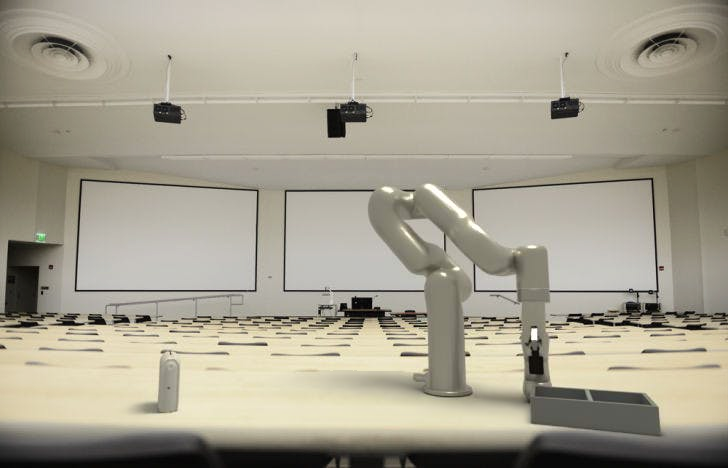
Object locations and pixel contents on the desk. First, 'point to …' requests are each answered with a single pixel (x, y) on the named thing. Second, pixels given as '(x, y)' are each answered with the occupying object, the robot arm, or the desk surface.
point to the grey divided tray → (595, 409)
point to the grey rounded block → (169, 382)
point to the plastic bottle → (533, 378)
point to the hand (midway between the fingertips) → (536, 370)
